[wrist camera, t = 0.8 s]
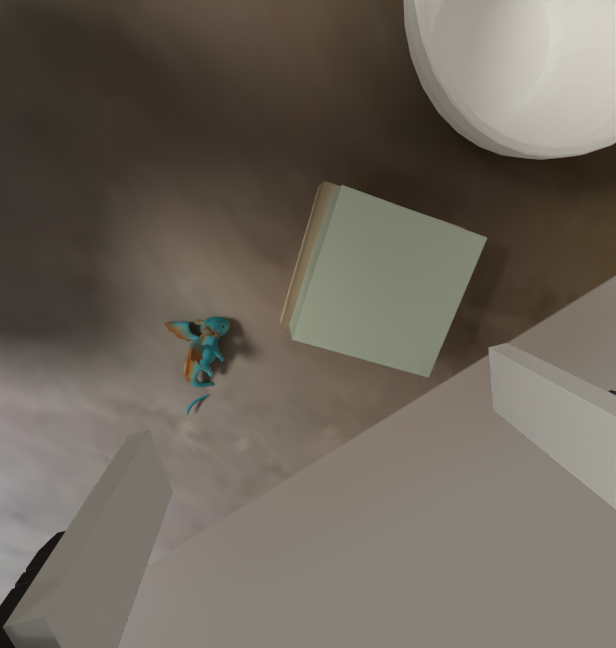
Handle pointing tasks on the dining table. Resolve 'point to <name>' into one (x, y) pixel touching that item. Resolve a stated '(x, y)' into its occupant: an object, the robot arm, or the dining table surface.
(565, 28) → the bowl
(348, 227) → the tower top
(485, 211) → the dining table surface
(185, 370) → the dragon figurine
